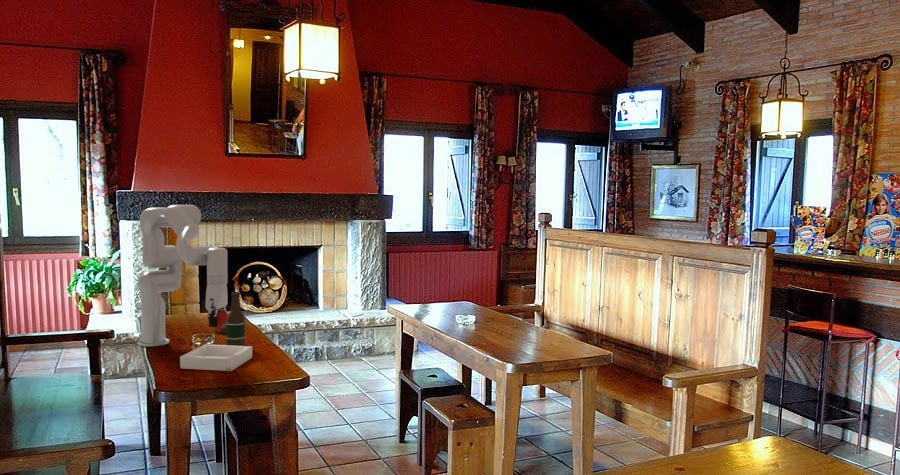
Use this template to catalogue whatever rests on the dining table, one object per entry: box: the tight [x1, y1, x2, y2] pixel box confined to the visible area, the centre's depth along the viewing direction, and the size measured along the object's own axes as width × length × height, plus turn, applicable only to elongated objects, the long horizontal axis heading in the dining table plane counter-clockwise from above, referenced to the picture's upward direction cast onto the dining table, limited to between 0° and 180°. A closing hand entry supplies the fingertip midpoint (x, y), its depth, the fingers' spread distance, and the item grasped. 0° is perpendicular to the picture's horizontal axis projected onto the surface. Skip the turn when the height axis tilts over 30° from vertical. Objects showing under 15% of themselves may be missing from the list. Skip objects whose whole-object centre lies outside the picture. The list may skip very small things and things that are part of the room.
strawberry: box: [207, 309, 229, 331], centre depth 254 cm, size 6×8×10 cm
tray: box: [179, 343, 253, 372], centre depth 255 cm, size 20×20×4 cm
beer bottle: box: [225, 291, 246, 346], centre depth 279 cm, size 8×8×24 cm
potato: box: [215, 320, 227, 334], centre depth 309 cm, size 8×13×8 cm, turn 25°
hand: (217, 324), depth 254 cm, fingers closed on strawberry, 6 cm apart
